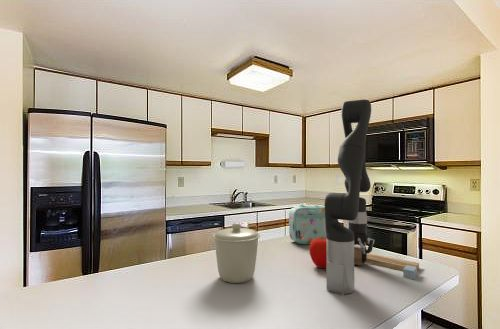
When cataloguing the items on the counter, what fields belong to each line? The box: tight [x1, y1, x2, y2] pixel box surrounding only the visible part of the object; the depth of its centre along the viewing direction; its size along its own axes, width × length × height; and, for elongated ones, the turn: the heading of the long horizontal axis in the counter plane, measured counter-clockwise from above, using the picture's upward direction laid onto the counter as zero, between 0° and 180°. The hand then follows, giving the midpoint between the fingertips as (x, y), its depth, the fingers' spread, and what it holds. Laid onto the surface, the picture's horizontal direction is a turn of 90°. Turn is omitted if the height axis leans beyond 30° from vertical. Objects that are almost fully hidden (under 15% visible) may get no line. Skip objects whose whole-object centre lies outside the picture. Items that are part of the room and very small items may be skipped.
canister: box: [212, 222, 261, 284], centre depth 105 cm, size 18×18×21 cm
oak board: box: [365, 253, 420, 272], centre depth 120 cm, size 8×26×2 cm, turn 49°
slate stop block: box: [402, 265, 418, 280], centre depth 106 cm, size 6×4×3 cm, turn 139°
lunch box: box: [288, 204, 326, 245], centre depth 156 cm, size 27×10×21 cm, turn 104°
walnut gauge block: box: [354, 245, 366, 266], centre depth 119 cm, size 6×4×6 cm
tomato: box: [309, 237, 327, 269], centre depth 116 cm, size 11×11×13 cm
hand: (357, 260), depth 119 cm, fingers closed on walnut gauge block, 4 cm apart
